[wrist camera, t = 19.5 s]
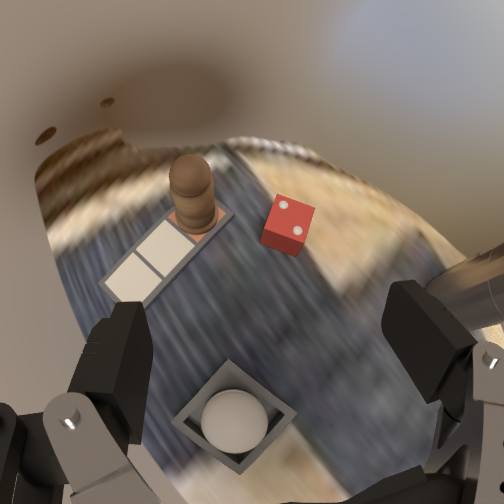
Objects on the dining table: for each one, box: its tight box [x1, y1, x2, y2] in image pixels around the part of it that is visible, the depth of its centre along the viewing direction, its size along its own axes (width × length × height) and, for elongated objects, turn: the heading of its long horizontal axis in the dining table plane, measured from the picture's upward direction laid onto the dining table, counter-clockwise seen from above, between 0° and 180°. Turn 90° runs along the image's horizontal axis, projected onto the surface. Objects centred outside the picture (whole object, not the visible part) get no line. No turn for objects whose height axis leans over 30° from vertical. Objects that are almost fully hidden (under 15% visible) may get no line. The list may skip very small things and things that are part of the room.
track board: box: [98, 198, 234, 311], centre depth 39 cm, size 19×7×1 cm, turn 140°
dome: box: [201, 388, 268, 453], centre depth 29 cm, size 7×7×8 cm
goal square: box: [168, 207, 226, 243], centre depth 40 cm, size 6×6×1 cm
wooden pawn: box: [169, 154, 219, 235], centre depth 35 cm, size 6×6×12 cm
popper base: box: [170, 359, 297, 475], centre depth 32 cm, size 10×10×4 cm
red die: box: [260, 194, 315, 257], centre depth 39 cm, size 5×5×5 cm
